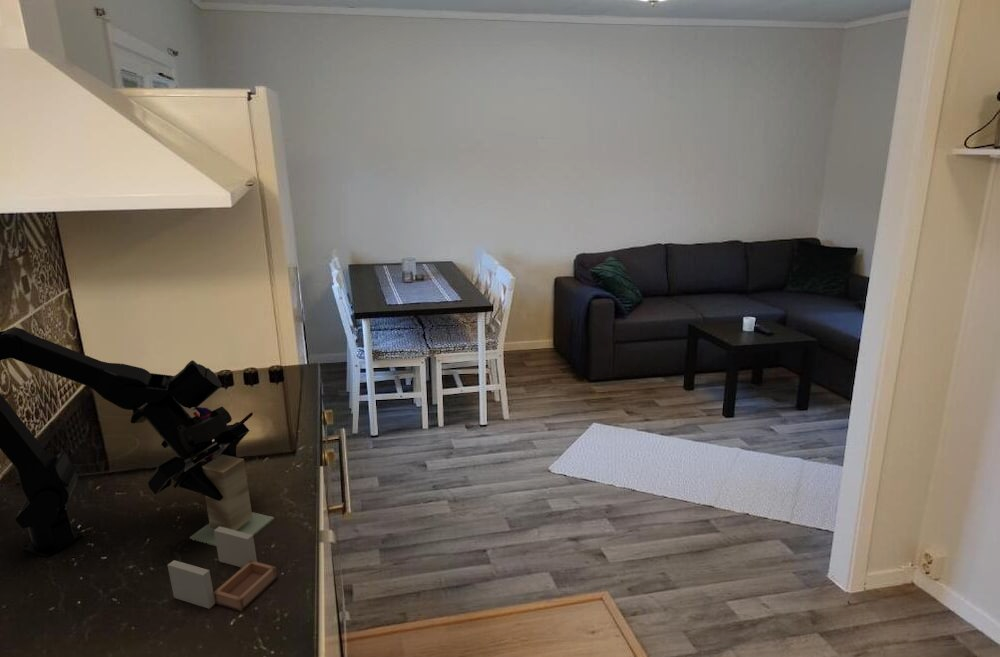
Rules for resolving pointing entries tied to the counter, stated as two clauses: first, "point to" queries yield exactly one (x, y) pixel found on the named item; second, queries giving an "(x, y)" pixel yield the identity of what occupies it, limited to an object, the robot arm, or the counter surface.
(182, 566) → the channel
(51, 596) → the counter surface
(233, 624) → the counter surface
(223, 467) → the beech post
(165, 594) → the counter surface
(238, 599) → the tray
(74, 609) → the counter surface
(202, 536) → the green mat
